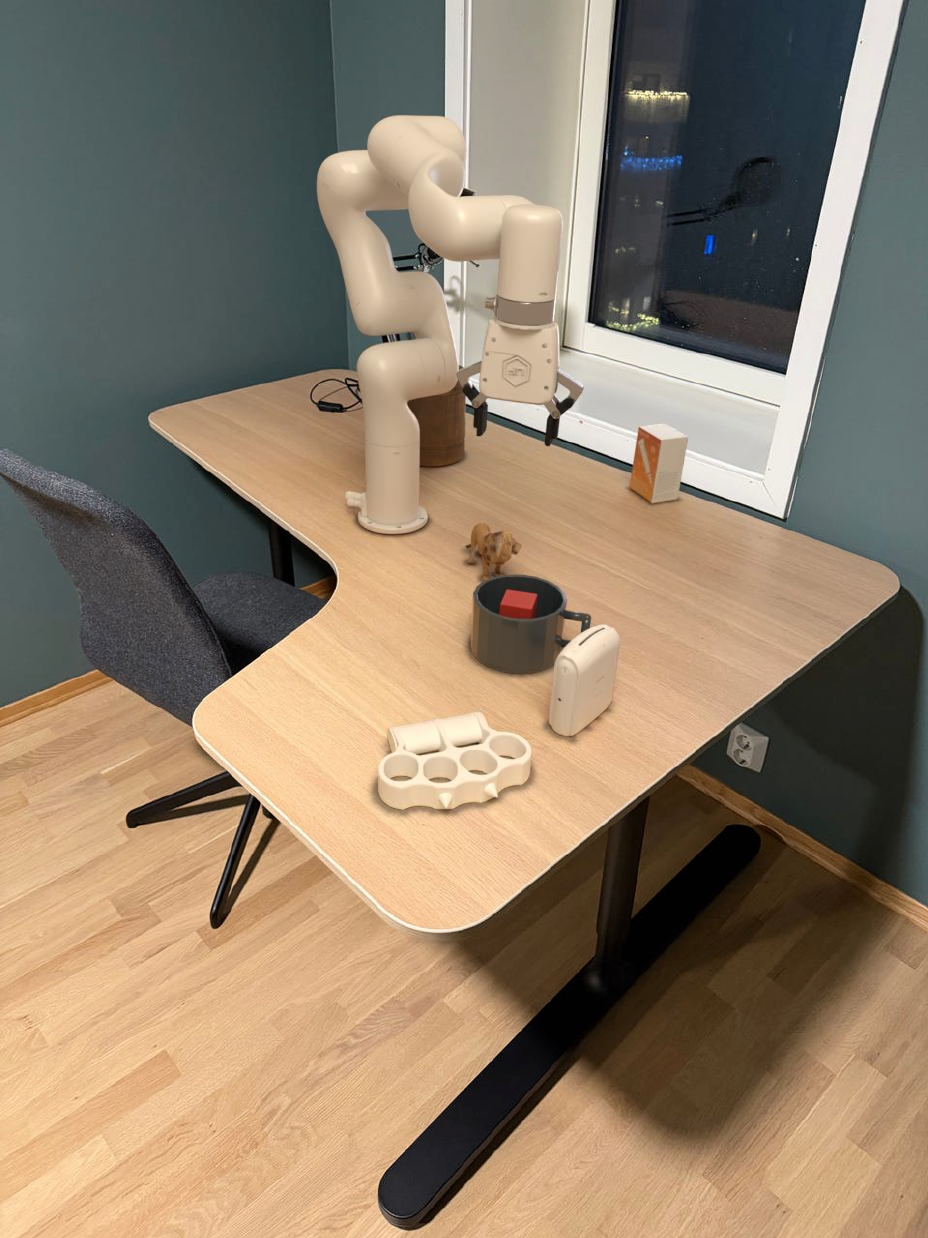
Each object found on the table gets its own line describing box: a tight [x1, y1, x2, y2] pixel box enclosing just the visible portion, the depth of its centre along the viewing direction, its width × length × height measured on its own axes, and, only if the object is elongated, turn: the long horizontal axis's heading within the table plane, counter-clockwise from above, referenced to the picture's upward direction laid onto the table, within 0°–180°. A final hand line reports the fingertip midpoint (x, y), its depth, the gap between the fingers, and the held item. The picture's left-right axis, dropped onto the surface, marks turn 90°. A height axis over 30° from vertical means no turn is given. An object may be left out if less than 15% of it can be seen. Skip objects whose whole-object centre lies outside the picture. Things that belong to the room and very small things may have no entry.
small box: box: [629, 423, 689, 504], centre depth 171 cm, size 8×6×13 cm
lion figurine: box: [464, 522, 523, 581], centre depth 143 cm, size 15×5×9 cm, turn 28°
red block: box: [499, 589, 537, 619], centre depth 123 cm, size 4×4×8 cm
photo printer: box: [548, 624, 621, 737], centre depth 109 cm, size 10×4×12 cm, turn 140°
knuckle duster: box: [377, 710, 533, 811], centre depth 101 cm, size 3×18×15 cm
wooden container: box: [407, 364, 467, 467], centre depth 183 cm, size 15×15×22 cm
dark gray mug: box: [470, 573, 592, 675], centre depth 122 cm, size 16×13×8 cm
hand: (514, 437), depth 122 cm, fingers open, 9 cm apart
